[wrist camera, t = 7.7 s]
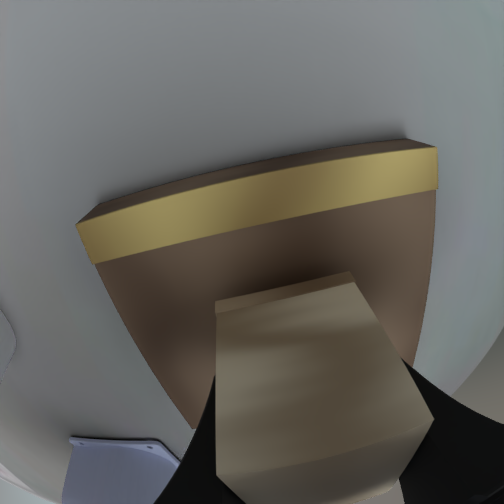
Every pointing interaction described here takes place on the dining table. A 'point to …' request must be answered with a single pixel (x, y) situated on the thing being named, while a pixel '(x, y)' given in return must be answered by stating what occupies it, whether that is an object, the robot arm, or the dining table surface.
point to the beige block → (311, 397)
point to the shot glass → (6, 344)
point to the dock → (266, 248)
